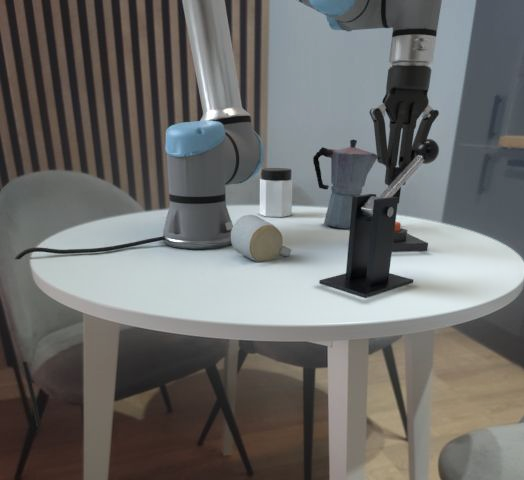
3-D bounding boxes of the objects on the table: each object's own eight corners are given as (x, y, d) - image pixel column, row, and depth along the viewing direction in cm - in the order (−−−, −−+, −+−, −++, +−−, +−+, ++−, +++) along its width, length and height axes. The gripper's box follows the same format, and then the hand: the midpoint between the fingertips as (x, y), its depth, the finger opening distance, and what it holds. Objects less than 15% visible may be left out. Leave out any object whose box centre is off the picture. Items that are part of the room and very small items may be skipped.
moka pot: (375, 230, 120) (384, 140, 111) (311, 229, 120) (315, 139, 112) (368, 223, 128) (376, 139, 120) (308, 222, 129) (312, 138, 120)
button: (385, 233, 99) (386, 224, 98) (378, 230, 102) (379, 221, 101) (402, 233, 99) (403, 224, 99) (395, 229, 103) (396, 221, 102)
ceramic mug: (250, 266, 88) (251, 223, 85) (229, 256, 95) (229, 215, 92) (299, 260, 93) (302, 219, 90) (277, 251, 100) (278, 212, 96)
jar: (273, 211, 144) (274, 167, 139) (296, 214, 139) (298, 169, 134) (253, 215, 137) (254, 169, 132) (277, 218, 133) (278, 171, 128)
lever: (425, 153, 80) (421, 133, 78) (445, 155, 78) (441, 134, 75) (362, 223, 75) (355, 204, 73) (381, 226, 73) (375, 207, 71)
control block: (369, 256, 97) (371, 235, 95) (352, 244, 106) (354, 225, 104) (426, 254, 99) (429, 233, 97) (405, 242, 108) (407, 224, 106)
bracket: (367, 274, 85) (376, 190, 79) (412, 286, 79) (425, 196, 73) (319, 287, 78) (324, 196, 72) (363, 302, 72) (374, 204, 66)
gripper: (384, 62, 84) (368, 205, 94) (454, 65, 86) (432, 205, 96) (367, 66, 91) (354, 199, 101) (433, 69, 93) (414, 199, 103)
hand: (392, 202), depth 98 cm, fingers closed
